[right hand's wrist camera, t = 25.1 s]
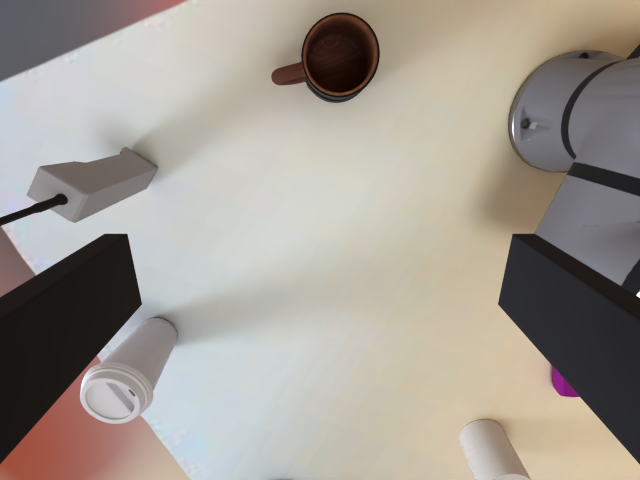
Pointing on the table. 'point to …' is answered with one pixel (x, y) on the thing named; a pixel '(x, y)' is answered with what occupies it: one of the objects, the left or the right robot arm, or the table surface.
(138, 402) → the coffee cup
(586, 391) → the right robot arm
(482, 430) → the can
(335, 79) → the mug
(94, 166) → the vintage mobile phone
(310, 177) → the table surface
